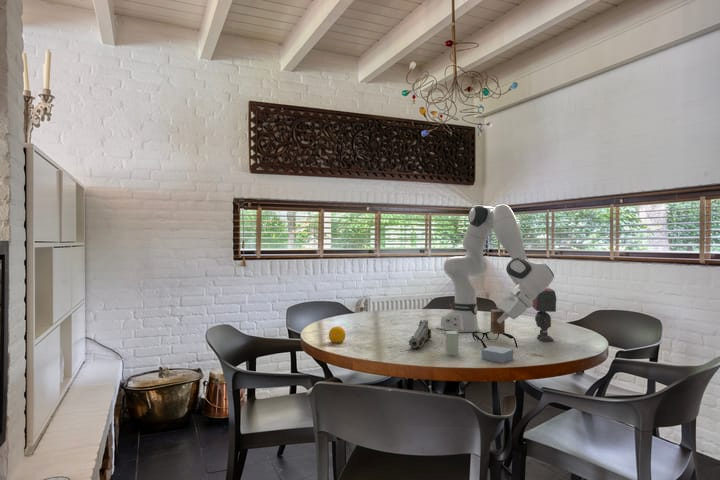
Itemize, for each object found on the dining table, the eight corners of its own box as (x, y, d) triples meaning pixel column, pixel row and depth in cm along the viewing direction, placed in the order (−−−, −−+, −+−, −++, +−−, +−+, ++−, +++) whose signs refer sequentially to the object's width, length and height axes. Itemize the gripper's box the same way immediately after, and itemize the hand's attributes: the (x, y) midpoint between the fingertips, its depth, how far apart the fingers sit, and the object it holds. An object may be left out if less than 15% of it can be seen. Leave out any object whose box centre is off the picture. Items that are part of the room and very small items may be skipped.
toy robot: (559, 345, 204) (559, 279, 204) (538, 344, 206) (538, 278, 206) (549, 335, 226) (549, 275, 225) (530, 334, 227) (530, 274, 227)
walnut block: (493, 333, 180) (493, 311, 180) (490, 331, 185) (490, 309, 185) (504, 334, 180) (504, 311, 180) (501, 331, 185) (501, 309, 185)
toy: (431, 338, 218) (430, 318, 216) (421, 360, 196) (420, 338, 194) (420, 337, 220) (419, 317, 218) (408, 358, 198) (407, 337, 196)
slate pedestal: (481, 359, 183) (481, 349, 182) (492, 355, 189) (492, 345, 189) (502, 363, 176) (502, 353, 176) (513, 359, 183) (513, 349, 183)
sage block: (447, 355, 188) (447, 333, 188) (445, 352, 193) (445, 331, 193) (458, 355, 188) (458, 333, 188) (456, 352, 192) (456, 331, 192)
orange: (334, 339, 216) (334, 324, 216) (348, 341, 213) (348, 325, 213) (325, 343, 209) (325, 327, 209) (340, 345, 206) (340, 328, 206)
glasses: (500, 341, 218) (500, 330, 218) (519, 348, 201) (519, 337, 201) (468, 342, 215) (468, 332, 215) (484, 350, 198) (484, 338, 198)
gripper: (508, 288, 192) (485, 311, 193) (522, 294, 172) (496, 319, 173) (519, 298, 192) (495, 321, 193) (534, 305, 172) (508, 331, 172)
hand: (496, 320), depth 183 cm, fingers closed on walnut block, 4 cm apart
